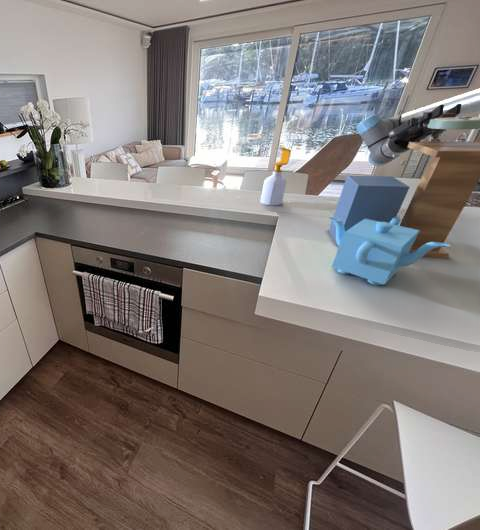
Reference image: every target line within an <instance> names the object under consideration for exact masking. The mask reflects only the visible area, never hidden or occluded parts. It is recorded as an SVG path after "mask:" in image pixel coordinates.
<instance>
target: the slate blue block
mask: <svg viewBox="0 0 480 530" xmlns="http://www.w3.org/2000/svg"><path fill="white" fill-rule="evenodd" d="M410 187H411V186H409V185H407V184H405V183H404V182H402V181H400V180H399V179H397V178H396V177H394V176H385V175H384V176H380V175H379V176H377V175H375V176H374V175H346V177H345V181H344V184H343V187H342V190H341V192H340V196H339V199H338V202H337V204H336V208H335V211H334V214H333V216H332V218H336V219H339V220H341V221H342V222H343V224H344V228H345V232H346V231H347V230H349V229H350V228H351V227H353V226H354V225H356V224H357V223H359V222H360V221H362V220H364V219H369V220H374V221H379V222H387V223H390V221H391V220H392V219H393V218H394V217H398V214H399V212H400V209H401V207H402V205H403V203H404V201H405V199H406V196H407V194H408V192H409V189H410ZM328 233H329V235H330V237H331V238H332V240H333V242H334V244H335V245H336V246H338V244H337V241H336V226H335V224H334V222H333V221H331V223H330V226H329V229H328ZM338 247H339V246H338Z"/></svg>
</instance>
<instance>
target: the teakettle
mask: <svg viewBox="0 0 480 530" xmlns="http://www.w3.org/2000/svg"><path fill="white" fill-rule="evenodd" d="M328 219H329V220H330V221H331V222H332V221H333V222H334V224H335V226H336V241H337V244H338V247H337V250H336V253H335V257H334V259H333V262H332V263H331V264H332V265H331V268H333V269H336V270H337V272H338V273H340V274H343V275H354V276H356V277H360V278H363V279H365V280H367V282H368V283H369V284H371V285H374V286H382V285H385V284H387V282H389V280H391V278H392V277H393V276H395V274H396V273H397V272H398V271H399V270H400V269H401V267H402V268H403V267H408V266H411V265H414V264H415V263H417V262H418V261H419V260H421V259H422V258H423V257H425V256H424V255H425V254H426V253H427V252H429V251H430V250H432V249H434V248H438V247H442V248H444V247H451V244H449V243H445V242H444V243H440V242H429V243H426V244H424V245H422V246H421V247H420V248H419V249H417V250H416V251H415V252H412V253H409V251H410V249H411V247H412V245H413V243H414V241H415V239H416V237H417V235H418V233H419V230H416V229H411V228H407V227H402V226H399V225H400V223H401V221H402V217H401V216H396V217H394V218H393V219H392V220H391V221H390V223H387V222H379V221H374V220H369V219H364V220H362V221H360V222H359V223H357V224H356V225H354V226H353V227H351V228H350V229H349V230H347V231H346V232H345V228H344V224H343V222H342V221H341V220H339V219H336V218H333V217H328Z"/></svg>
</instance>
